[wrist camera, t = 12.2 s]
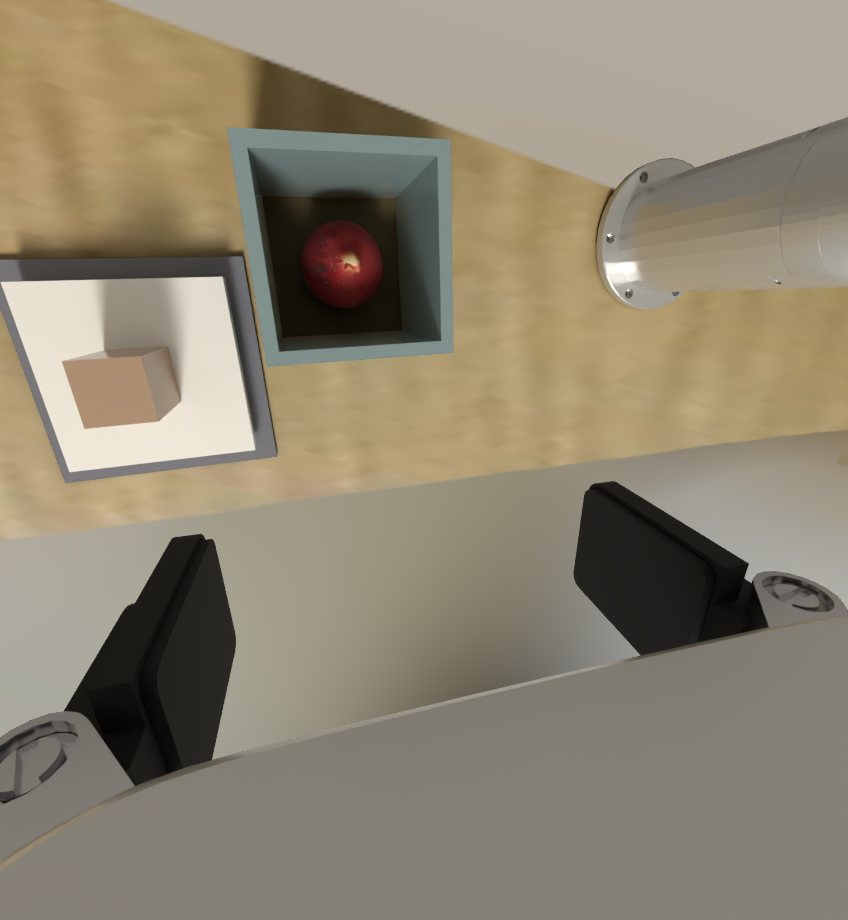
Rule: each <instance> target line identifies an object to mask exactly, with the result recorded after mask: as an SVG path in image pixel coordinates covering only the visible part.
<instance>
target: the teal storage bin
mask: <svg viewBox="0 0 848 920" xmlns="http://www.w3.org/2000/svg"><path fill="white" fill-rule="evenodd" d="M227 131H228V137H229V143H230V149H231V155H232V161H233V167H234V173H235V179H236V185H237V191H238V197H239V203H240V209H241V215H242V221H243V227H244V233H245V239H246V245H247V251H248V257H249V263H250V269H251V275H252V281H253V287H254V293H255V298H256V304H257V310H258V316H259V322H260V328H261V334H262V340H263V346H264V352H265V358H266V364H267V367H270V366H283V365H297V364H310V363H323V362H337V361H350V360H364V359H377V358H390V357H404V356H417V355H430V354H444V353H453V287H452V202H451V139H433V138H415V137H397V136H379V135H361V134H343V133H325V132H307V131H289V130H271V129H253V128H235V127H227ZM262 196H275V197H328V198H381V199H395V207H396V226H397V245H398V264H399V283H400V302H401V320H402V330H401V331H384V332H367V333H350V334H333V335H316V336H300V337H283V334H282V327H281V320H280V314H279V307H278V300H277V294H276V287H275V280H274V274H273V267H272V261H271V254H270V247H269V241H268V234H267V227H266V221H265V214H264V207H263V201H262Z"/></svg>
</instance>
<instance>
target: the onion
mask: <svg viewBox="0 0 848 920" xmlns="http://www.w3.org/2000/svg"><path fill="white" fill-rule="evenodd" d="M301 264H302V271H303V278H304V279H305V281H306V283H307V284H308V286H309V288H310V289H311V291H312V293H313V294H314V295H315V296H317V297H318V298H320V299H321V300H322V301H324V302H325V303H326V304H329V305H332V306H336V307H339V308H351V307H358V306H360V305H361V304H363V303H365V302H367V301H369V300H371V299H372V297H373V296H374V295H375V293H376V292H377V290H378V289H379V288H380V284H381V280H382V276H383V272H384V271H383V261H382V254H381V252H380V250H379V247H378V245H377V243H376V240H375V239H374V238H373V237H372V236H371V235H370V234H369V233H368V232H367V231H366V230H365V229H364V228H363V227H362V226H359V225H357V224H354V223H352V222H349V221H331V222H328V223H326V224H324V225H321V226H319V227H317V228H316V229H315V230H314V231H313V232H312V234H311V235H310V236H309V237H308V238H307V239H306V242H305V245H304V248H303V252H302V255H301Z"/></svg>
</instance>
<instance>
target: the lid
mask: <svg viewBox="0 0 848 920" xmlns="http://www.w3.org/2000/svg"><path fill="white" fill-rule="evenodd" d="M1 285H2V288H3V290H4V293H5V296H6V299H7V301H8V304H9V307H10V310H11V312H12V315H13V318H14V321H15V323H16V326H17V329H18V332H19V334H20V337H21V340H22V343H23V345H24V348H25V351H26V354H27V356H28V359H29V362H30V365H31V367H32V370H33V373H34V376H35V379H36V381H37V384H38V387H39V390H40V392H41V395H42V398H43V401H44V403H45V406H46V409H47V412H48V414H49V417H50V420H51V423H52V425H53V428H54V431H55V434H56V436H57V439H58V442H59V445H60V447H61V450H62V453H63V456H64V458H65V461H66V464H67V467H68V469H69V472H76V471H85V470H93V469H101V468H110V467H118V466H127V465H135V464H143V463H152V462H160V461H169V460H177V459H185V458H194V457H202V456H210V455H219V454H227V453H236V452H244V451H252V450H256V446H257V445H256V440H255V435H254V429H253V424H252V419H251V413H250V408H249V403H248V397H247V392H246V387H245V381H244V376H243V371H242V365H241V360H240V355H239V349H238V344H237V339H236V333H235V328H234V323H233V317H232V312H231V307H230V301H229V296H228V291H227V285H226V280H225V277H188V278H147V279H105V280H63V281H22V282H1Z"/></svg>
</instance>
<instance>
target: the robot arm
mask: <svg viewBox="0 0 848 920" xmlns="http://www.w3.org/2000/svg"><path fill="white" fill-rule="evenodd" d="M596 245H597V262H598V268H599V272H600V275H601V278H602V280H603V283H604V285H605V286H606V288H607V290H608V291H609V293H610V294H611V295H612V296H613V297H614V298H615V299H616V300H617V301H619V302H620V303H622V304H623V305H625V306H628V307H631V308H635V309H655V308H659V307H662V306H665V305H667V304H669V303H671V302H673V301H675V300H676V299H677V298H679V297H680V296H681V295H682V294H684V293H685V292H689V291H729V290H769V289H809V288H836V287H847V286H848V117H847V118H844V119H841V120H838V121H835V122H832V123H829V124H826V125H822V126H820V127H817V128H813V129H810V130H808V131H805V132H801V133H799V134H795V135H792V136H790V137H787V138H783V139H780V140H777V141H775V142H772V143H768V144H765V145H762V146H760V147H756V148H753V149H751V150H747V151H744V152H742V153H738V154H735V155H733V156H730V157H726V158H723V159H720V160H717V161H714V162H712V163H708V164H705V165H702V166H699V167H696V168H694V167H693V166H692V165H691V164H689V163H686V162H685V161H682V160H678V159H673V158H670V159H660V160H657V161H654V162H651V163H648V164H646V165H644V166H642V167H640V168H637V169H636V170H635V171H633V172H632V173H631V174H629V175H628V176H627V177H626V178H625V179H624V180H623V181H622V182H621V183H620V184H619V186H618V187H617V188H616V189H615V191H614V193H613V194H612V196H611V197H610V199H609V201H608V203H607V205H606V207H605V210H604V212H603V214H602V218H601V221H600V225H599V228H598V235H597V243H596ZM748 565H749V564H748V563H746V562H745V561H744V560H742V559H740V558H738V557H737V556H735V555H734V554H732V553H731V552H729V551H727V550H726V549H724V548H722V547H721V546H719V545H717V544H716V543H714V542H713V541H711V540H709V539H708V538H706V537H705V536H703V535H701V534H700V533H698V532H696V531H695V530H693V529H692V528H690V527H688V526H686V525H685V524H683V523H682V522H680V521H679V520H677V519H675V518H674V517H672V516H670V515H668V514H667V513H665V512H664V511H662V510H661V509H659V508H657V507H656V506H654V505H653V504H651V503H649V502H648V501H646V500H644V499H643V498H641V497H640V496H638V495H636V494H635V493H633V492H631V491H630V490H628V489H627V488H625V487H623V486H622V485H620V484H618V483H617V482H614V481H612V482H604V483H596V484H593V485H591V486H590V488H589V490H587V491H586V492H585V495H584V502H583V508H582V515H581V523H580V531H579V537H578V545H577V552H576V559H575V566H574V579H575V582H576V584H577V586H578V587H579V588H580V589H581V590H582V591H583V593H584V594H585V595H586V596H587V597H588V598H589V599H590V600H591V601H592V602H593V603H594V605H595V606H596V607H597V608H598V609H599V610H600V611H601V612H602V613H603V614H604V616H605V617H606V618H607V619H608V620H609V621H610V622H611V623H612V624H613V625H614V626H615V627H616V629H617V630H618V631H619V632H620V633H621V634H622V635H623V636H624V637H625V639H627V641H628V642H629V643H630V644H631V645H632V646H633V647H634V648H635V649H636V651H637V652H638V653H639V654H640V655H641V656H637V657H633V658H628V659H624V660H619V661H615V662H611V663H606V664H602V665H598V666H593V667H589V668H585V669H580V670H576V671H572V672H568V673H563V674H559V675H555V676H551V677H546V678H542V679H538V680H533V681H529V682H525V683H520V684H517V685H512V686H508V687H503V688H499V689H495V690H491V691H486V692H482V693H478V694H474V695H469V696H465V697H461V698H457V699H453V700H449V701H444V702H440V703H436V704H432V705H428V706H424V707H420V708H415V709H412V710H407V711H403V712H399V713H394V714H391V715H386V716H382V717H378V718H374V719H370V720H365V721H361V722H357V723H353V724H349V725H345V726H341V727H336V728H333V729H328V730H324V731H320V732H316V733H312V734H308V735H304V736H300V737H296V738H292V739H288V740H284V741H280V742H276V743H272V744H268V745H264V746H261V747H257V748H254V749H250V750H246V751H242V752H239V753H235V754H232V755H228V756H225V757H221V758H217V759H214V760H212V757H213V752H214V747H215V742H216V738H217V733H218V729H219V724H220V719H221V715H222V710H223V704H224V700H225V695H226V691H227V686H228V682H229V677H230V672H231V668H232V663H233V658H234V654H235V647H236V636H235V630H234V626H233V622H232V617H231V612H230V608H229V604H228V599H227V595H226V590H225V586H224V582H223V577H222V573H221V568H220V564H219V559H218V555H217V551H216V546H215V543H214V541H213V539H208V540H205V538H204V536H203V535H202V534H197V535H189V536H182V537H174V538H172V540H171V541H170V543H169V545H168V546H167V548H166V550H165V552H164V554H163V555H162V557H161V559H160V560H159V562H158V564H157V566H156V567H155V569H154V571H153V573H152V575H151V576H150V578H149V580H148V581H147V583H146V585H145V587H144V588H143V590H142V592H141V594H140V596H139V597H138V599H137V601H136V602H135V604H131V605H129V606H127V607H126V608H125V610H124V611H123V612H122V614H121V616H120V617H119V619H118V621H117V622H116V624H115V626H114V627H113V629H112V631H111V632H110V634H109V636H108V638H107V639H106V641H105V643H104V644H103V646H102V648H101V649H100V651H99V653H98V654H97V656H96V658H95V660H94V661H93V663H92V665H91V666H90V668H89V670H88V671H87V673H86V675H85V676H84V678H83V680H82V681H81V683H80V685H79V686H78V688H77V690H76V692H75V693H74V695H73V697H72V698H71V700H70V702H69V703H68V705H67V707H66V708H65V710H64V712H57V713H50V714H47V715H44V716H41V717H38V718H36V719H32V720H30V721H28V722H26V723H24V724H22V725H20V726H18V727H16V728H14V729H12V730H10V731H9V732H8V733H6V734H5V735H3V736H2V737H0V920H848V610H847V608H846V607H845V605H844V603H843V602H842V601H841V600H840V599H839V598H838V596H836V595H835V594H834V593H832V592H831V591H829V590H828V589H827V588H825V587H823V586H821V585H819V584H817V583H815V582H813V581H811V580H808V579H805V578H803V577H800V576H796V575H793V574H789V573H783V572H776V571H769V572H762V573H758V574H757V575H756V576H755V577H754V578H753V581H752V583H750V582H748V581H747V580H746V579H744V577H745V574H746V571H747V568H748Z"/></svg>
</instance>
